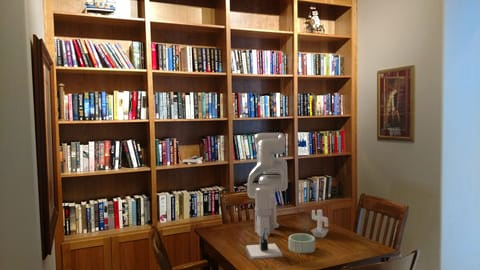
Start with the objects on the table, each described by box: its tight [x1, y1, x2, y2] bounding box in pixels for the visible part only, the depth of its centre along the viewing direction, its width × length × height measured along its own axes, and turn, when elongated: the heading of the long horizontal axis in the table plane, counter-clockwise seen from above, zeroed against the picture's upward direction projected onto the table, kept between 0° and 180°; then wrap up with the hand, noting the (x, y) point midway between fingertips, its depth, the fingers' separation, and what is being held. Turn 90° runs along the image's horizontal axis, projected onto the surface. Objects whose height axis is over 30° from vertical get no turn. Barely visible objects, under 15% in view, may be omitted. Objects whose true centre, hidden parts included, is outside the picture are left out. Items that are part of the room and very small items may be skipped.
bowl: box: [287, 233, 316, 254], centre depth 193 cm, size 13×13×6 cm
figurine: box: [310, 208, 329, 239], centre depth 211 cm, size 7×9×15 cm
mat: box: [244, 244, 285, 261], centre depth 189 cm, size 17×17×1 cm
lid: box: [245, 236, 283, 259], centre depth 189 cm, size 15×15×7 cm
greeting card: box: [254, 206, 275, 235], centre depth 218 cm, size 11×7×15 cm, turn 37°
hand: (263, 247), depth 189 cm, fingers closed on lid, 3 cm apart
